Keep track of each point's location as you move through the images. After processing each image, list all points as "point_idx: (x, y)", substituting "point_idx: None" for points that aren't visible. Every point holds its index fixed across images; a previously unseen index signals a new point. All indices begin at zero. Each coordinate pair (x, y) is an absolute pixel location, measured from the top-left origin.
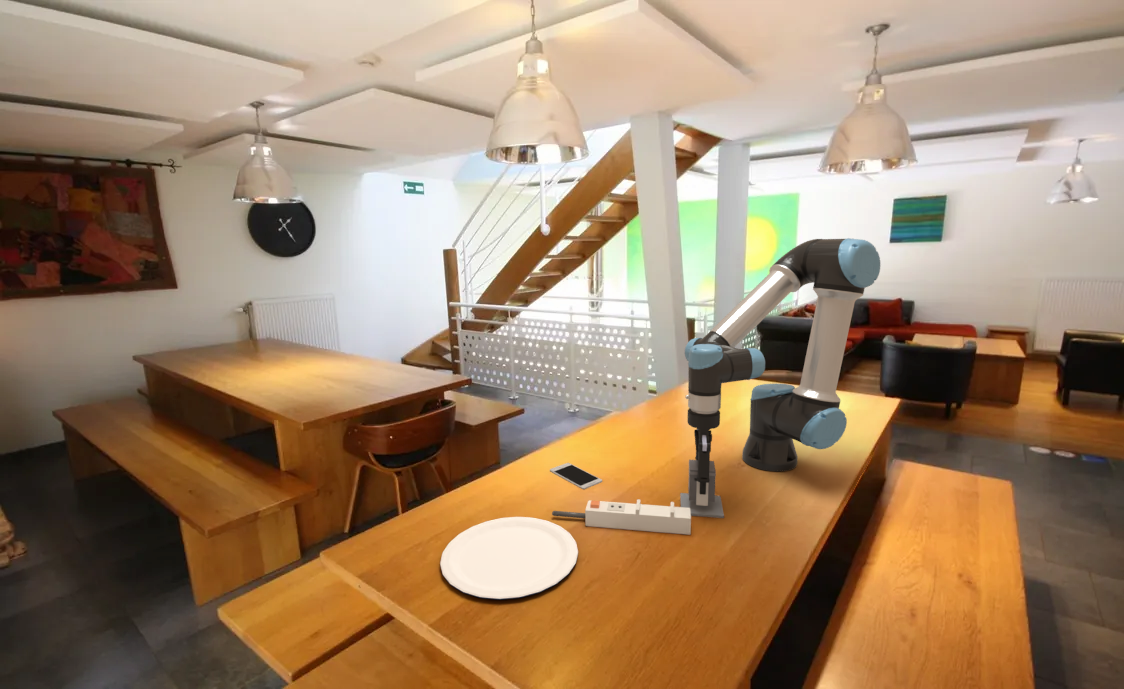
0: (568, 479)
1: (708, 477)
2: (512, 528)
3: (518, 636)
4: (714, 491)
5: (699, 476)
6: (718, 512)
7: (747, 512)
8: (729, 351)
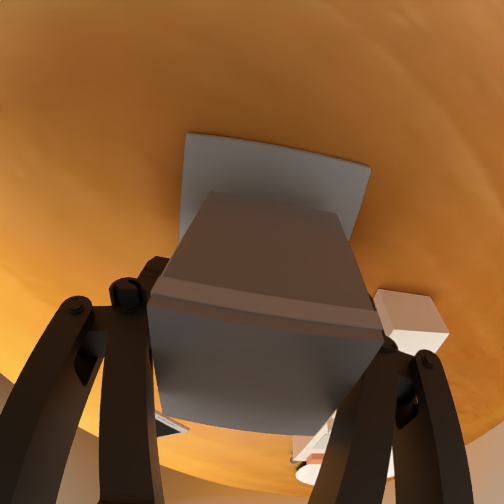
0: (160, 436)
1: (445, 383)
2: (318, 470)
3: (480, 428)
4: (347, 244)
5: (416, 414)
6: (342, 182)
7: (326, 48)
8: None
